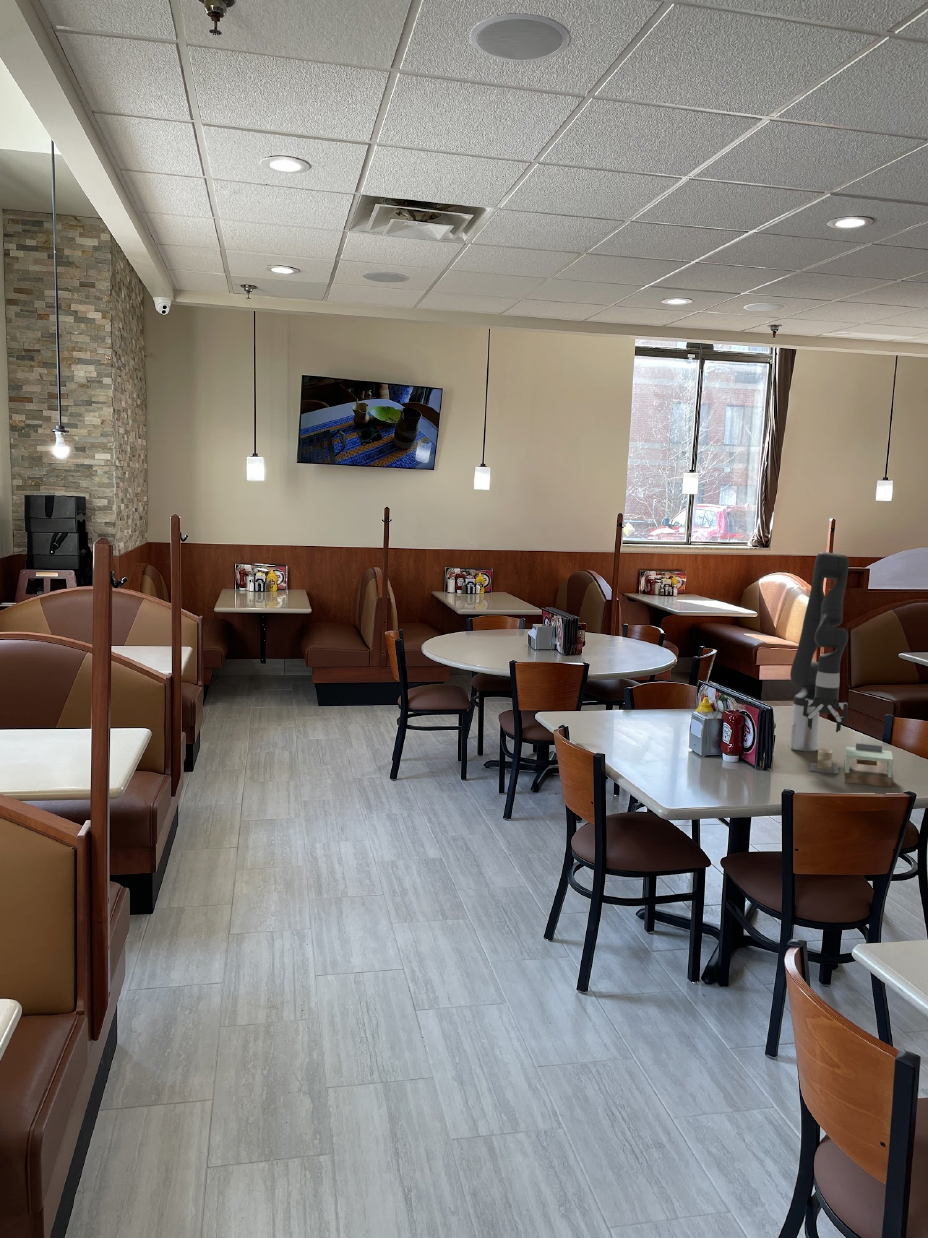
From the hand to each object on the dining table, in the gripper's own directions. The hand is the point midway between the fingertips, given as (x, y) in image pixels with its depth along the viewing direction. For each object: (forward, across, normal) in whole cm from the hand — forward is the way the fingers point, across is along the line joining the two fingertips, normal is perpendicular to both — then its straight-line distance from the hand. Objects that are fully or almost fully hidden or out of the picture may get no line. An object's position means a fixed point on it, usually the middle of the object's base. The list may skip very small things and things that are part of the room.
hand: (823, 730), depth 312 cm
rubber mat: (+14, -1, 0) cm, 14 cm away
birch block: (+13, -1, 0) cm, 13 cm away
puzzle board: (+14, -15, 0) cm, 20 cm away
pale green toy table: (+10, -15, +8) cm, 20 cm away
